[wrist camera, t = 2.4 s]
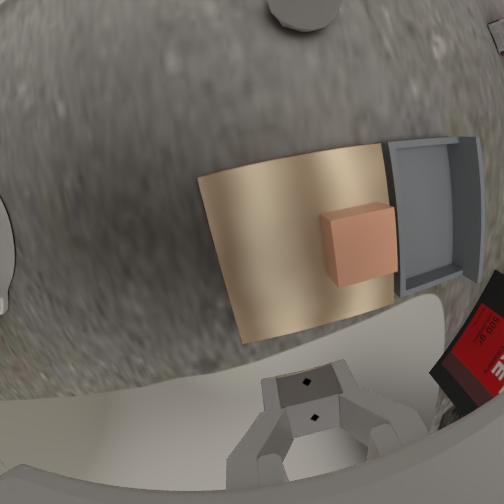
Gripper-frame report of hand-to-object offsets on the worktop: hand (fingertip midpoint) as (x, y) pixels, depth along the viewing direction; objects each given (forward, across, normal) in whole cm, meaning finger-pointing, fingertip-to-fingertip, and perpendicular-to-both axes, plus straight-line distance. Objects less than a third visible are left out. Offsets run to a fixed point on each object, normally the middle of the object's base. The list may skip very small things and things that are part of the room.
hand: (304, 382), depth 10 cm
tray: (+16, -16, 0) cm, 23 cm away
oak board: (+16, -3, 0) cm, 16 cm away
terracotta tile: (+13, -7, 0) cm, 15 cm away
